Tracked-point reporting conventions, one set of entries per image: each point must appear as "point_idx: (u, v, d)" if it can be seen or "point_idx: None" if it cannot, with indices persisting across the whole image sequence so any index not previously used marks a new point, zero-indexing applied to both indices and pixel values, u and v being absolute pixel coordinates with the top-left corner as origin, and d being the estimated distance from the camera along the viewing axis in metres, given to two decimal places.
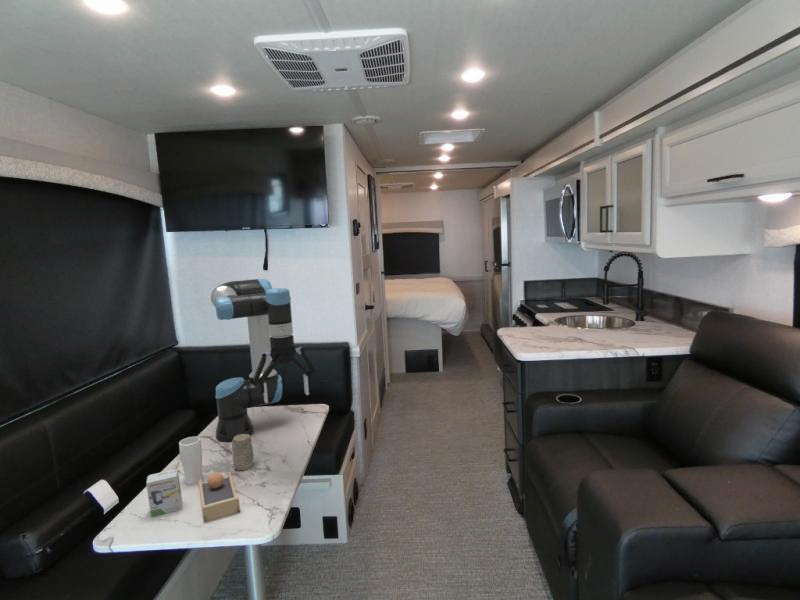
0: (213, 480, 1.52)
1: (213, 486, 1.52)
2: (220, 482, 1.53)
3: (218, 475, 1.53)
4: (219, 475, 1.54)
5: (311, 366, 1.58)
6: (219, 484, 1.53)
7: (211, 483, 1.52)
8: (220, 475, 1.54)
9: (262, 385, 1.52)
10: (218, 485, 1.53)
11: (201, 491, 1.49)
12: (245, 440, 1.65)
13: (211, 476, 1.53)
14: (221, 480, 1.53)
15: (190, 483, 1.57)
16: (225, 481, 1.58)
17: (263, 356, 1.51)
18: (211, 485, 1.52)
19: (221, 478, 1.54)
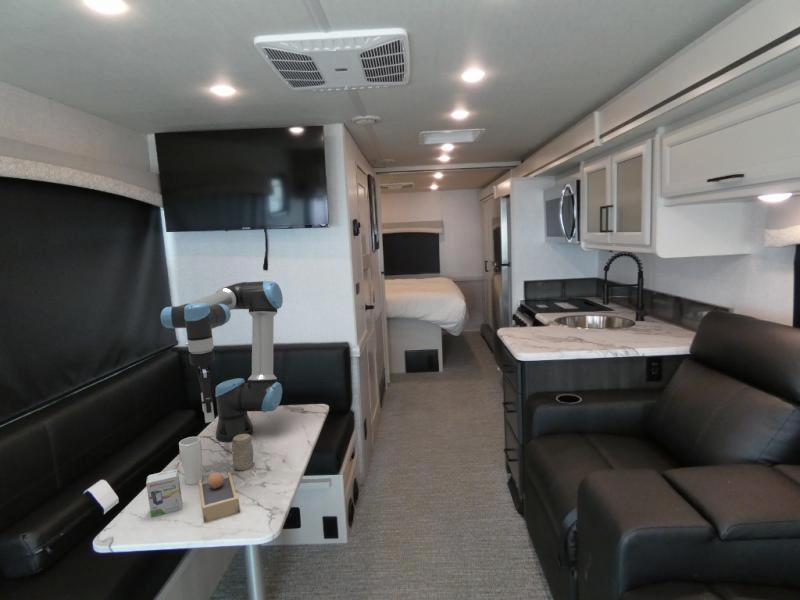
0: (213, 480, 1.52)
1: (213, 486, 1.52)
2: (220, 482, 1.53)
3: (218, 475, 1.53)
4: (219, 475, 1.54)
5: (203, 395, 1.46)
6: (219, 484, 1.53)
7: (211, 483, 1.52)
8: (220, 475, 1.54)
9: (202, 393, 1.60)
10: (218, 485, 1.53)
11: (201, 491, 1.49)
12: (245, 440, 1.65)
13: (211, 476, 1.53)
14: (221, 480, 1.53)
15: (190, 483, 1.57)
16: (225, 481, 1.58)
17: (198, 365, 1.58)
18: (211, 485, 1.52)
19: (221, 478, 1.54)
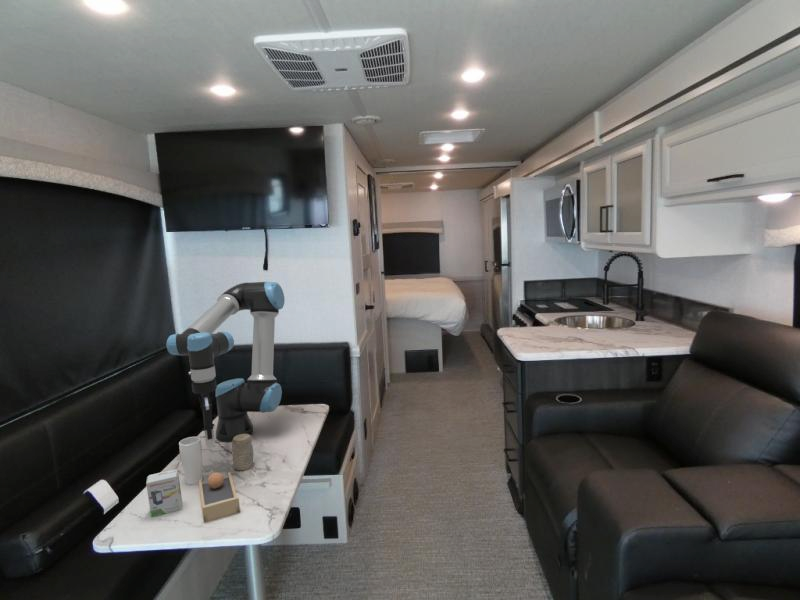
0: (213, 480, 1.52)
1: (213, 486, 1.52)
2: (220, 482, 1.53)
3: (218, 475, 1.53)
4: (219, 475, 1.54)
5: (204, 424, 1.54)
6: (219, 484, 1.53)
7: (211, 483, 1.52)
8: (220, 475, 1.54)
9: None
10: (218, 485, 1.53)
11: (201, 491, 1.49)
12: (245, 440, 1.65)
13: (211, 476, 1.53)
14: (221, 480, 1.53)
15: (190, 483, 1.57)
16: (225, 481, 1.58)
17: None
18: (211, 485, 1.52)
19: (221, 478, 1.54)
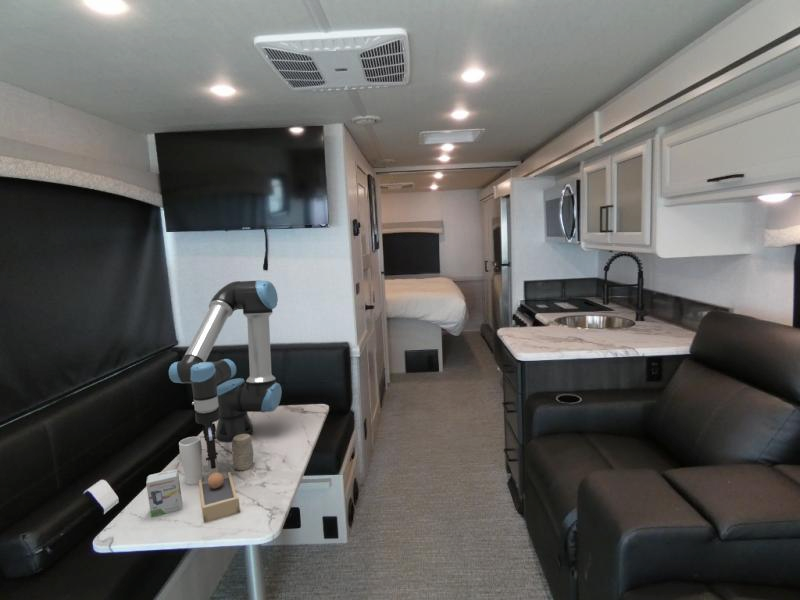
0: (213, 480, 1.52)
1: (213, 486, 1.52)
2: (220, 482, 1.53)
3: (218, 475, 1.53)
4: (219, 475, 1.54)
5: (208, 454, 1.55)
6: (219, 484, 1.53)
7: (211, 483, 1.52)
8: (220, 475, 1.54)
9: None
10: (218, 485, 1.53)
11: (201, 491, 1.49)
12: (245, 440, 1.65)
13: (211, 476, 1.53)
14: (221, 480, 1.53)
15: (190, 483, 1.57)
16: (225, 481, 1.58)
17: None
18: (211, 485, 1.52)
19: (221, 478, 1.54)
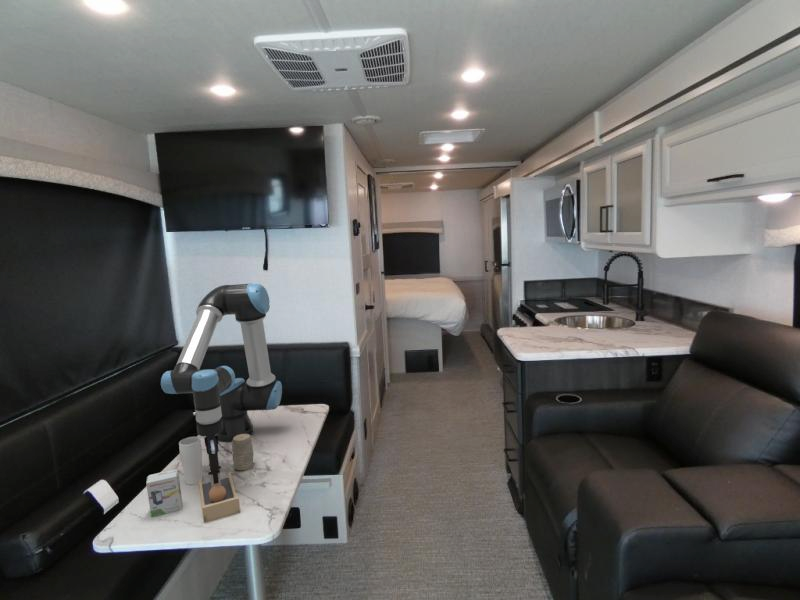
0: None
1: None
2: None
3: None
4: None
5: (210, 468, 1.44)
6: None
7: None
8: None
9: None
10: None
11: (201, 491, 1.49)
12: (245, 440, 1.65)
13: None
14: None
15: (190, 483, 1.57)
16: (225, 481, 1.58)
17: None
18: None
19: None
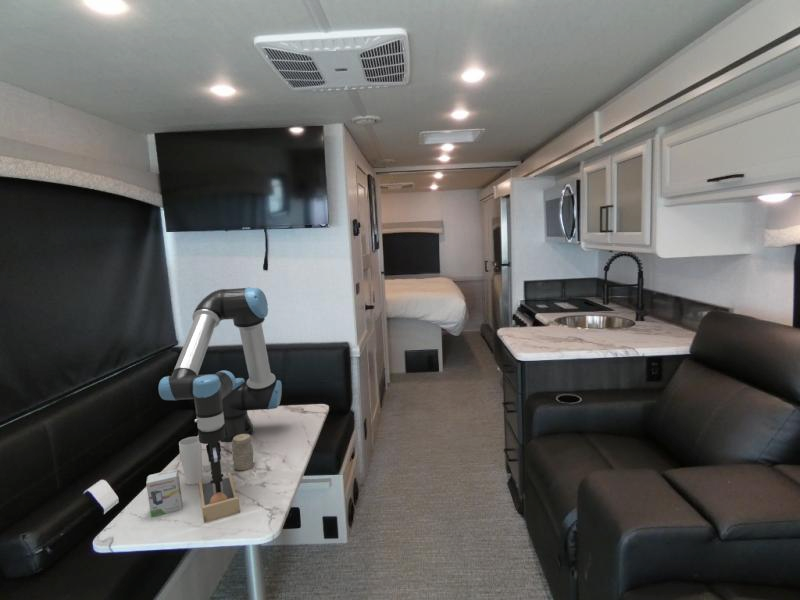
0: (215, 497, 1.40)
1: None
2: (223, 499, 1.40)
3: (221, 493, 1.42)
4: (222, 493, 1.42)
5: (212, 476, 1.40)
6: None
7: (213, 501, 1.39)
8: None
9: None
10: None
11: (201, 491, 1.49)
12: (245, 440, 1.65)
13: (213, 495, 1.41)
14: (224, 497, 1.41)
15: (190, 483, 1.57)
16: (225, 481, 1.58)
17: None
18: None
19: (224, 495, 1.41)
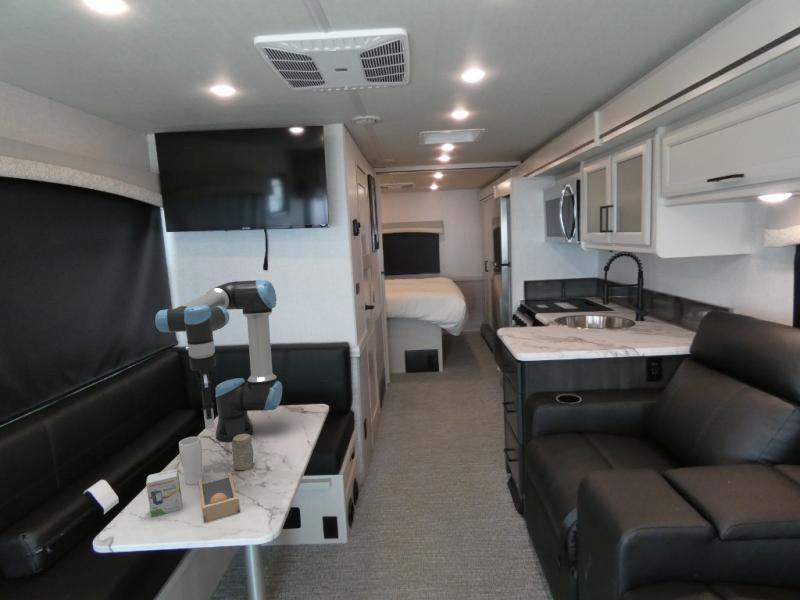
0: (215, 497, 1.40)
1: None
2: (223, 499, 1.40)
3: (221, 493, 1.42)
4: (222, 493, 1.42)
5: (203, 402, 1.44)
6: None
7: (213, 502, 1.39)
8: (223, 494, 1.42)
9: None
10: None
11: (201, 491, 1.49)
12: (245, 440, 1.65)
13: (213, 495, 1.41)
14: (224, 498, 1.41)
15: (190, 483, 1.57)
16: (225, 481, 1.58)
17: None
18: None
19: (224, 496, 1.41)
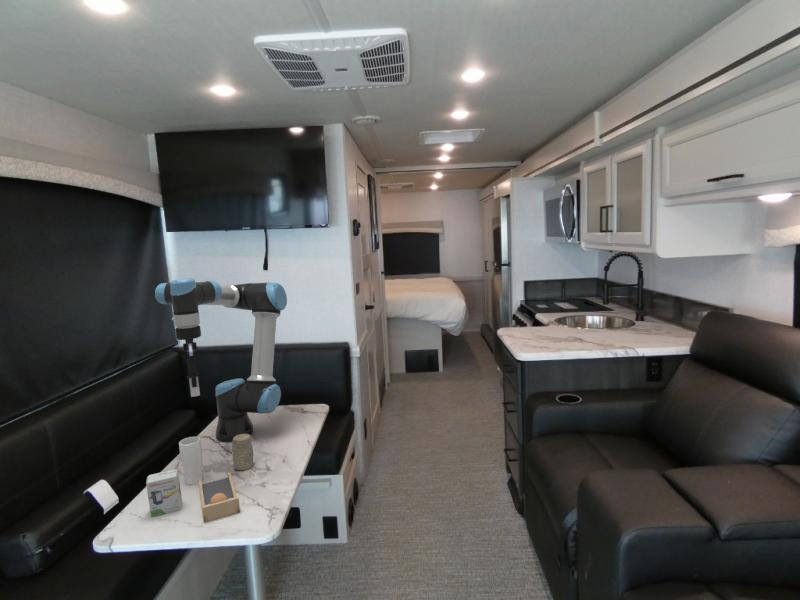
0: (216, 498, 1.40)
1: None
2: (223, 500, 1.40)
3: (221, 493, 1.41)
4: (222, 494, 1.42)
5: (188, 370, 1.51)
6: None
7: (213, 502, 1.39)
8: (223, 494, 1.42)
9: None
10: None
11: (201, 491, 1.49)
12: (245, 440, 1.65)
13: (214, 495, 1.41)
14: (224, 498, 1.41)
15: (190, 483, 1.57)
16: (225, 481, 1.58)
17: None
18: None
19: (224, 496, 1.41)
